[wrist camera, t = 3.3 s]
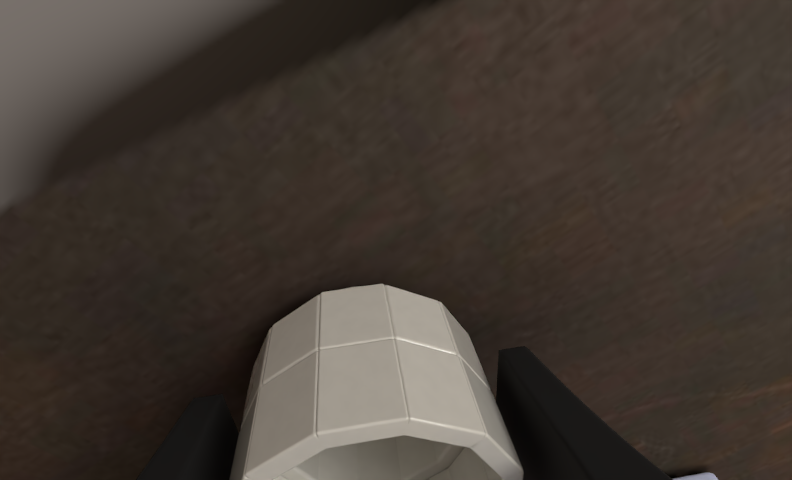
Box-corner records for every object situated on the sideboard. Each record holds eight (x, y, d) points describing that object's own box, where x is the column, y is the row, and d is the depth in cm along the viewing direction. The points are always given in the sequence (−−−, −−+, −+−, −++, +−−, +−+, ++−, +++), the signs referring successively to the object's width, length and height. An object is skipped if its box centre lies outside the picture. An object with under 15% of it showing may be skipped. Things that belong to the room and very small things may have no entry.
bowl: (283, 438, 12) (265, 613, 9) (234, 290, 10) (180, 456, 6) (464, 408, 13) (513, 564, 9) (463, 258, 10) (534, 398, 7)
